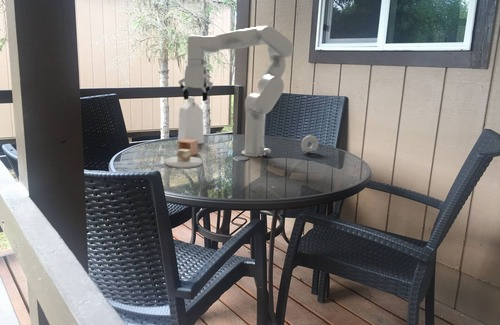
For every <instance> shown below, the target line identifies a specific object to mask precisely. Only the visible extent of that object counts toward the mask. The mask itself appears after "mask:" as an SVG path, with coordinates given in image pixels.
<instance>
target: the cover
mask: <svg viewBox="0 0 500 325" xmlns="http://www.w3.org/2000/svg"><path fill="white" fill-rule="evenodd" d="M197 142H198V140H192V139H183V140H180V141H178V140H177V150H180V149H189V150H190V157H194V156H195V155H197V154H198V144H197Z"/></svg>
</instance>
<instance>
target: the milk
mask: <svg viewBox="0 0 500 325" xmlns="http://www.w3.org/2000/svg"><path fill="white" fill-rule="evenodd" d="M177 132H178V134H177V142H178V141H180V140H183V139H192V140H198V142H197V145H198V144H204V143H205V138H204V137H205V134H204V110H203V109H202V108H201V107H200V106H199V104H198V103H197V102H195V97H194V96H189V95H188V99H187V101H186V102H185V103H184V104H183V105H182V106H181V107H180V108H179V114H178V131H177Z"/></svg>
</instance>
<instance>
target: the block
mask: <svg viewBox="0 0 500 325" xmlns="http://www.w3.org/2000/svg"><path fill="white" fill-rule="evenodd" d="M176 152H177V154H176V157H177V161H181V162H187V161H190V157H191V156H190V150H189V149H180V150H178V149H177V150H176Z"/></svg>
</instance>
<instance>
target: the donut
mask: <svg viewBox="0 0 500 325" xmlns="http://www.w3.org/2000/svg"><path fill="white" fill-rule="evenodd" d="M309 142H310V143H311V145H310V146H308V144H309ZM300 143H301V144H300V146H301V150H302V151H303V152H304V151H306V152H309V151H315V152H316V151H317V149H318V148H319V140H318V138H317V137H316V136H315V135H311V134H310V135H309V134H308V135H306V136H305V137H304V138H302V141H301V142H300Z"/></svg>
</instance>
